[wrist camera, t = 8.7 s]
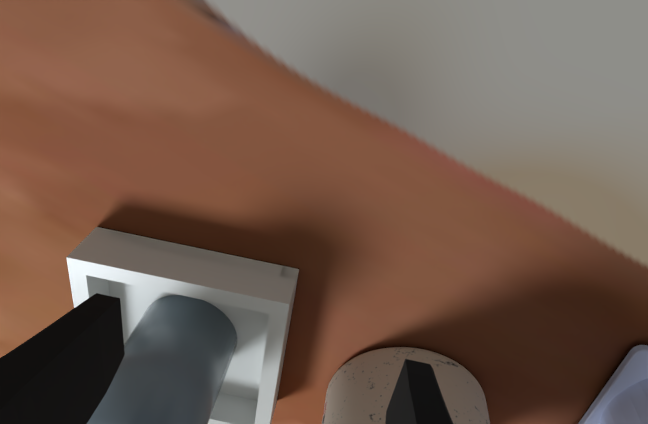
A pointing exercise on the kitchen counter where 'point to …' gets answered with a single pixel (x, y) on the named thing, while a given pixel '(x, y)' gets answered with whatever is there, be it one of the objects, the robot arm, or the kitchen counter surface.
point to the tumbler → (171, 365)
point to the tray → (206, 284)
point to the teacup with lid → (380, 380)
